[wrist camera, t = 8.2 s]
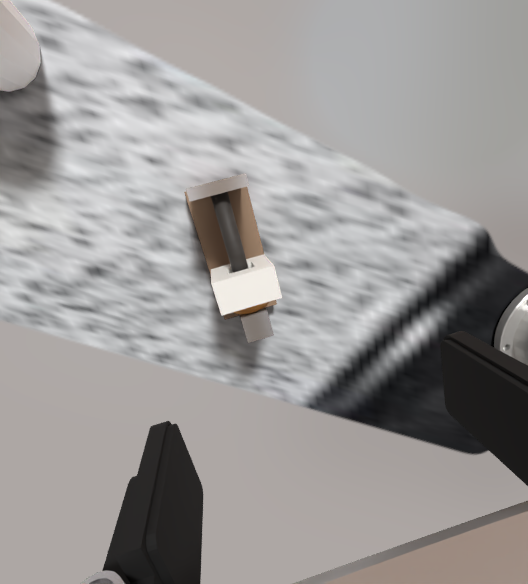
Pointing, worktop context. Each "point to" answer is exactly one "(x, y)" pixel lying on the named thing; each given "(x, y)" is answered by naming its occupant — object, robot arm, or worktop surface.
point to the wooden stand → (230, 239)
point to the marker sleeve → (245, 285)
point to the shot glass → (16, 49)
